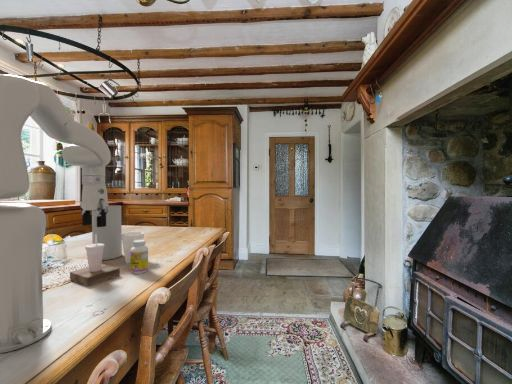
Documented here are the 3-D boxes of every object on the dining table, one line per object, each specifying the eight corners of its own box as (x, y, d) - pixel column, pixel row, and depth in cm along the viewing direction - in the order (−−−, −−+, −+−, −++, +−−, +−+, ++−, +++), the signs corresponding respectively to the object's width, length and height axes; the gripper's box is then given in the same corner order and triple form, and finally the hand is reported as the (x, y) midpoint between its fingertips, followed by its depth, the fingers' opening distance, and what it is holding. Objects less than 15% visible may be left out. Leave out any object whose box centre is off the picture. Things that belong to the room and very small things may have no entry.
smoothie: (96, 273, 96) (95, 235, 95) (81, 272, 97) (80, 235, 97) (108, 268, 102) (108, 232, 102) (94, 267, 103) (94, 232, 103)
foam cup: (119, 260, 122) (119, 233, 122) (140, 257, 128) (139, 231, 128) (125, 265, 115) (125, 236, 115) (146, 261, 121) (146, 233, 121)
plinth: (119, 275, 102) (119, 268, 102) (87, 286, 92) (87, 277, 92) (102, 270, 108) (102, 263, 108) (70, 279, 98) (69, 272, 97)
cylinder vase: (127, 255, 130) (126, 206, 130) (101, 262, 120) (100, 208, 119) (112, 252, 137) (112, 205, 136) (87, 258, 126) (86, 207, 125)
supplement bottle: (126, 272, 106) (126, 241, 105) (140, 268, 112) (140, 238, 111) (137, 275, 103) (137, 243, 102) (151, 270, 109) (151, 240, 108)
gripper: (117, 180, 98) (117, 226, 98) (91, 181, 106) (91, 223, 106) (96, 180, 91) (96, 228, 91) (71, 181, 100) (71, 225, 100)
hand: (94, 225), depth 99 cm, fingers open, 9 cm apart
